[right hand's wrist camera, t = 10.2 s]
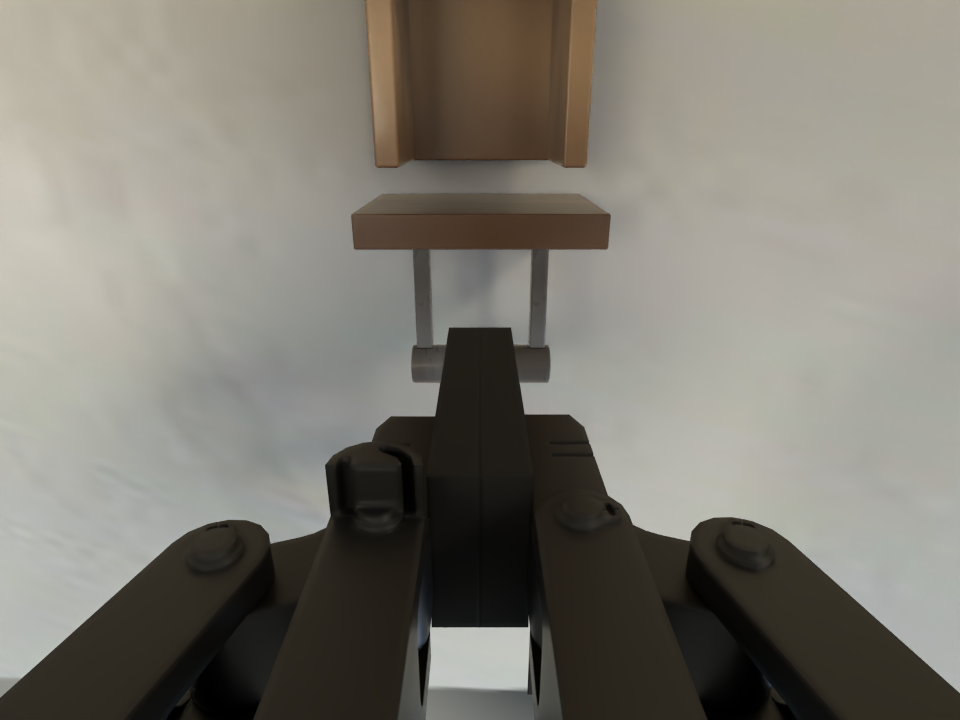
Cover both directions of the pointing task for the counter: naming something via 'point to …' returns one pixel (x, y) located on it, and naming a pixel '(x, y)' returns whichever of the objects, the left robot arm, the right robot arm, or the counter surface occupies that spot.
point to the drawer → (480, 140)
